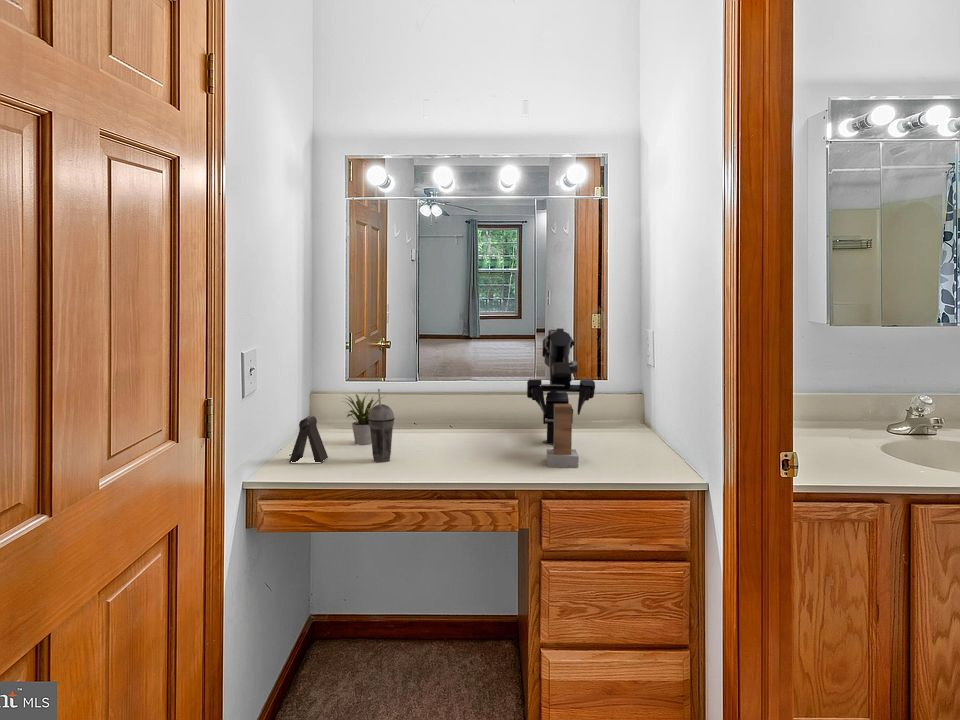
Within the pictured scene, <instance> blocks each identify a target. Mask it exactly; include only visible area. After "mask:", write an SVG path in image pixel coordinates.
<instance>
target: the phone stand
mask: <svg viewBox="0 0 960 720" xmlns="http://www.w3.org/2000/svg"><path fill="white" fill-rule="evenodd" d="M317 421H318V420H317V417H316V416H314V415H312V416H310V415H309V416H307V417H305V418H303V419H301V420H300V421H299V424H298V426H299V429H298V431H299V432H298V434H297V437H296V440H295V442H294V443H295V444H294V446H293V448H292V453H291V454H290V457H289V458H290V459H289V460H288V461H289V462H291V461H292V462H296V461H298V460H299V459H300V458H302V457H303V456H304V453H305V448H306V445H307V440H308V442H309V446H310V449H311V452H312V455H313V456H312V457H314V460H315V462H322V461H323V460H325V459H326V458H327V459H329V456H328V453H327V450H326V448H325V445H324V442H323V440H322V438H321V435H320V432H319V429H318V426H317V423H318V422H317ZM327 459H326V460H327ZM326 460H325V461H326ZM322 463H323V462H322Z"/></svg>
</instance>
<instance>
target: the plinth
mask: <svg viewBox="0 0 960 720" xmlns="http://www.w3.org/2000/svg"><path fill="white" fill-rule="evenodd" d="M545 460H546V463H547V464H546V465H547V467H548V468H579V460H580V459H579V454H578V451H577V449H572V448H571V455H560V454H554V451H553V449H552V448H546V459H545Z"/></svg>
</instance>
